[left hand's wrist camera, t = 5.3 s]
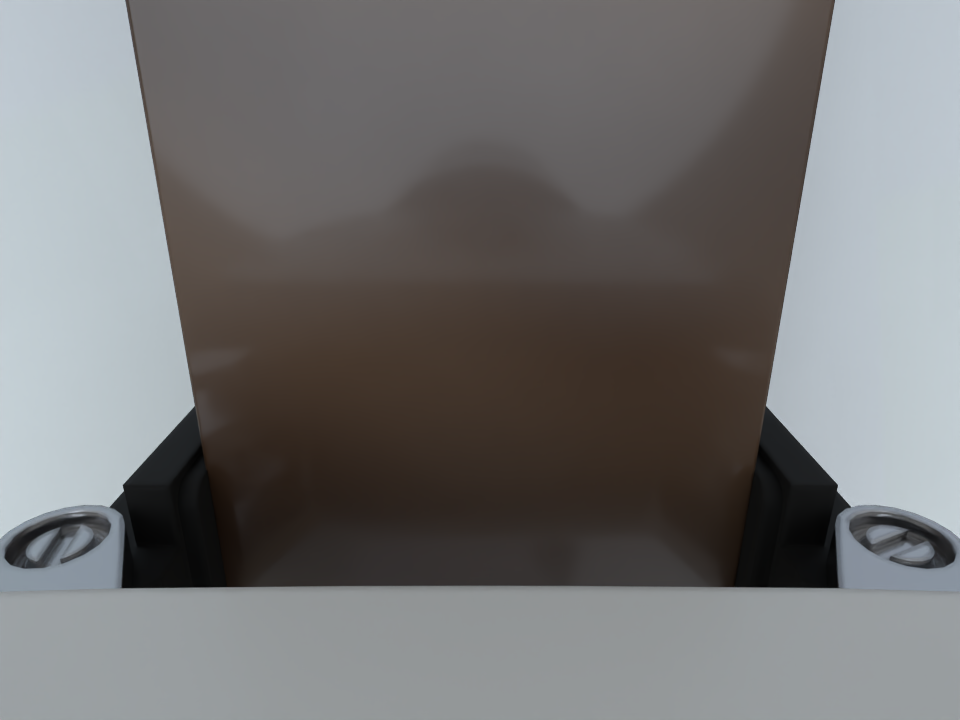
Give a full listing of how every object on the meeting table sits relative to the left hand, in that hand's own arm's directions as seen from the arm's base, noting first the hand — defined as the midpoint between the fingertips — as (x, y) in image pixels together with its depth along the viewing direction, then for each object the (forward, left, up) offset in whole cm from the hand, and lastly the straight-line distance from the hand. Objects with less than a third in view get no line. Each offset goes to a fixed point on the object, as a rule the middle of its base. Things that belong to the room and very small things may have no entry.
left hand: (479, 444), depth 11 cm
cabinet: (+5, -2, -7) cm, 9 cm away
